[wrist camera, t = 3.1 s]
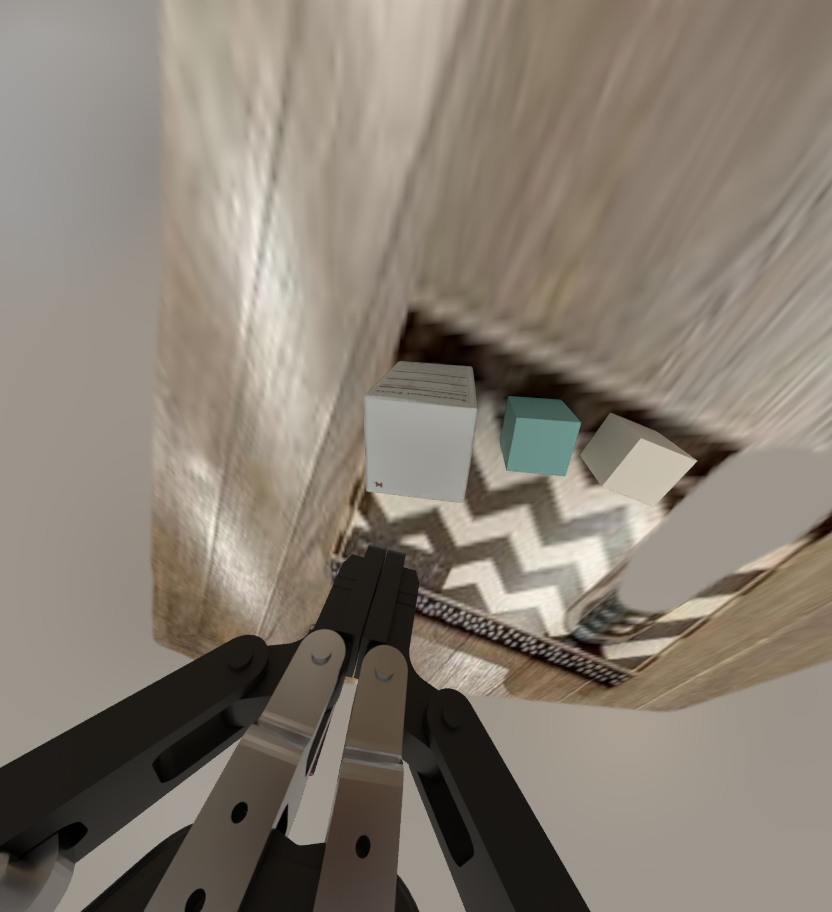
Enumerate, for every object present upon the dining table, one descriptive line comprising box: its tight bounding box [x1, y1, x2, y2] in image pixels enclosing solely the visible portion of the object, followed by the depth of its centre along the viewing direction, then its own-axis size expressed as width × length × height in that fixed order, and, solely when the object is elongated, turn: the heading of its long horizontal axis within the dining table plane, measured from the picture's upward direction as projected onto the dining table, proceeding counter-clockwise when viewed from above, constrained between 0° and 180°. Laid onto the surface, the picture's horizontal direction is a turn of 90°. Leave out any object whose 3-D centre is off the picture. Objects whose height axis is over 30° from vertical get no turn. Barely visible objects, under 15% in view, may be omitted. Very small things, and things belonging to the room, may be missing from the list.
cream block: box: [580, 413, 697, 507], centre depth 29 cm, size 5×5×6 cm
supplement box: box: [364, 361, 478, 502], centre depth 26 cm, size 7×7×13 cm
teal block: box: [500, 396, 581, 476], centre depth 29 cm, size 5×5×6 cm
